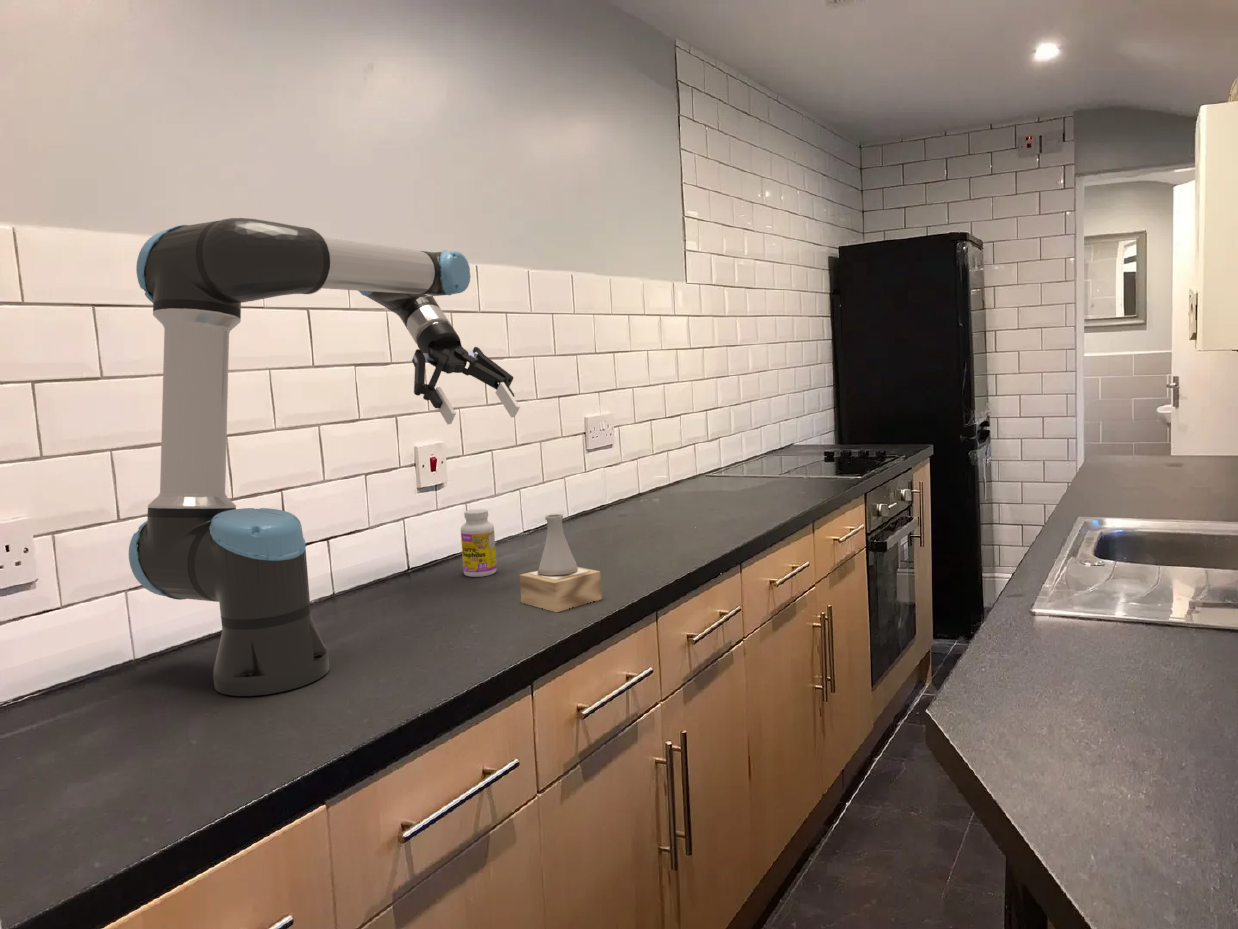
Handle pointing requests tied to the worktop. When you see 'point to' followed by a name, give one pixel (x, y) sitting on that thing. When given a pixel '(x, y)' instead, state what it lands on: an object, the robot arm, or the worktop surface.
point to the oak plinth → (560, 589)
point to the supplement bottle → (478, 544)
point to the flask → (556, 549)
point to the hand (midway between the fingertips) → (484, 415)
